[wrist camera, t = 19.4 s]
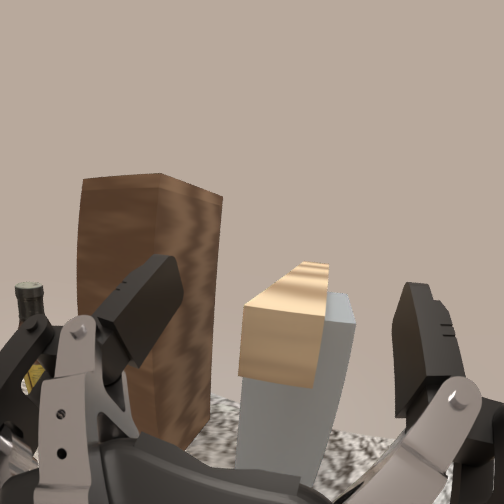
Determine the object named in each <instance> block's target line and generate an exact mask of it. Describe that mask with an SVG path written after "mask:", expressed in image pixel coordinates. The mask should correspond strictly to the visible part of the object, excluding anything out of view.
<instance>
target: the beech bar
mask: <svg viewBox="0 0 504 504" xmlns="http://www.w3.org/2000/svg"><path fill="white" fill-rule="evenodd" d="M328 272H329V264H325V263H315V262H306V261H304V262H302V263H301V264H300V265H298V266H297V267H296V268H295V269H293V270H292V271H290V272H289V273H288V274H286V275H285V276H284V277H282V278H281V279H280V280H278V281H277V282H275V283H274V284H273V285H271V286H270V287H269V288H267V289H266V290H264V291H263V292H262V293H260V294H259V295H258V296H256V297H255V298H254V299H252V300H250V301H249V302H248V303H246V304H245V305H244V309H243V322H242V334H241V346H240V358H239V371H238V376H241V377H245V378H250V379H255V380H261V381H266V382H271V383H277V384H283V385H289V386H296V387H303V388H310V389H313V384H314V379H315V374H316V368H317V363H318V357H319V351H320V345H321V339H322V333H323V327H324V320H325V311H326V300H327V287H328Z"/></svg>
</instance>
